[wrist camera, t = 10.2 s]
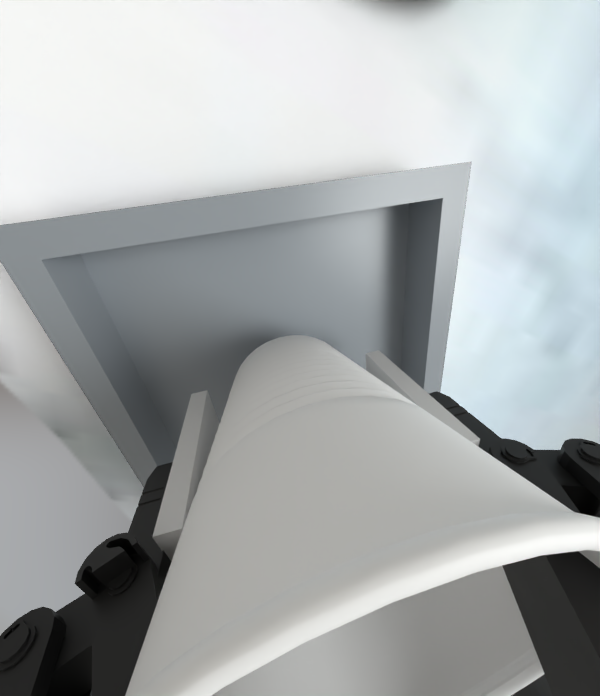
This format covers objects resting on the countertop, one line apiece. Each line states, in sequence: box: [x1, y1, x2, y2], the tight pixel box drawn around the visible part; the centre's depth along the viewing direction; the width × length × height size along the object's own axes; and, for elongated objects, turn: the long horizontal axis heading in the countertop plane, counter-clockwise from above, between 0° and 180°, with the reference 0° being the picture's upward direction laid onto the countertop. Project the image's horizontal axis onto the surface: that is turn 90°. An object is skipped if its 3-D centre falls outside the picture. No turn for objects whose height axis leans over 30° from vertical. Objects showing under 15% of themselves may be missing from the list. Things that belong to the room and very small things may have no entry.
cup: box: [125, 335, 600, 696], centre depth 10 cm, size 10×10×11 cm
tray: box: [0, 162, 471, 487], centre depth 15 cm, size 18×18×4 cm
